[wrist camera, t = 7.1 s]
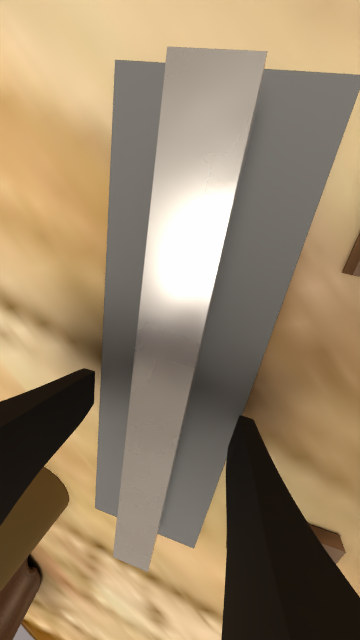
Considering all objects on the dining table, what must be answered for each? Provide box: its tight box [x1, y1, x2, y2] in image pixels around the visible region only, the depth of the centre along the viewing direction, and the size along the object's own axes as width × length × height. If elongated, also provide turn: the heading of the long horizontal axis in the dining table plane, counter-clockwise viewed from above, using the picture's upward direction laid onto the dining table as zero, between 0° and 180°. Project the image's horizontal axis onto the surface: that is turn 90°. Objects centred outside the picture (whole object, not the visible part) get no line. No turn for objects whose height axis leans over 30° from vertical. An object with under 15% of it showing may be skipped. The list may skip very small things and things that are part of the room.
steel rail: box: [113, 47, 267, 572], centre depth 11 cm, size 2×24×2 cm, turn 171°
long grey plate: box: [95, 60, 360, 548], centre depth 12 cm, size 8×26×1 cm, turn 171°
